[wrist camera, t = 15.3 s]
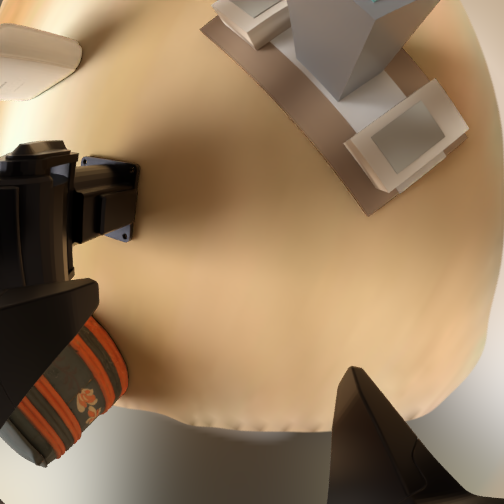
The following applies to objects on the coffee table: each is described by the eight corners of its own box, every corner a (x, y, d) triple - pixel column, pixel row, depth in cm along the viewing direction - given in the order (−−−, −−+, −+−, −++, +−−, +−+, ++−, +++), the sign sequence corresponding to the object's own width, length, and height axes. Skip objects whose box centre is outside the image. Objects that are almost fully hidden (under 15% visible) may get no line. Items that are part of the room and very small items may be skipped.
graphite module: (337, 102, 15) (376, 18, 5) (296, 58, 14) (275, -53, 4) (381, 72, 14) (452, -15, 3) (340, 30, 13) (360, -81, 3)
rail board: (462, 138, 14) (492, 135, 10) (365, 214, 18) (380, 227, 14) (301, -30, 12) (298, -60, 8) (203, 33, 16) (181, 10, 12)
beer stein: (51, 367, 33) (-22, 438, 14) (20, 285, 28) (-79, 349, 10) (143, 406, 29) (66, 520, 11) (111, 308, 25) (-31, 435, 6)
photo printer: (26, 106, 20) (-58, 108, 9) (30, 74, 19) (-50, 70, 7) (82, 72, 18) (-23, 55, 7) (86, 37, 17) (-9, 10, 5)
